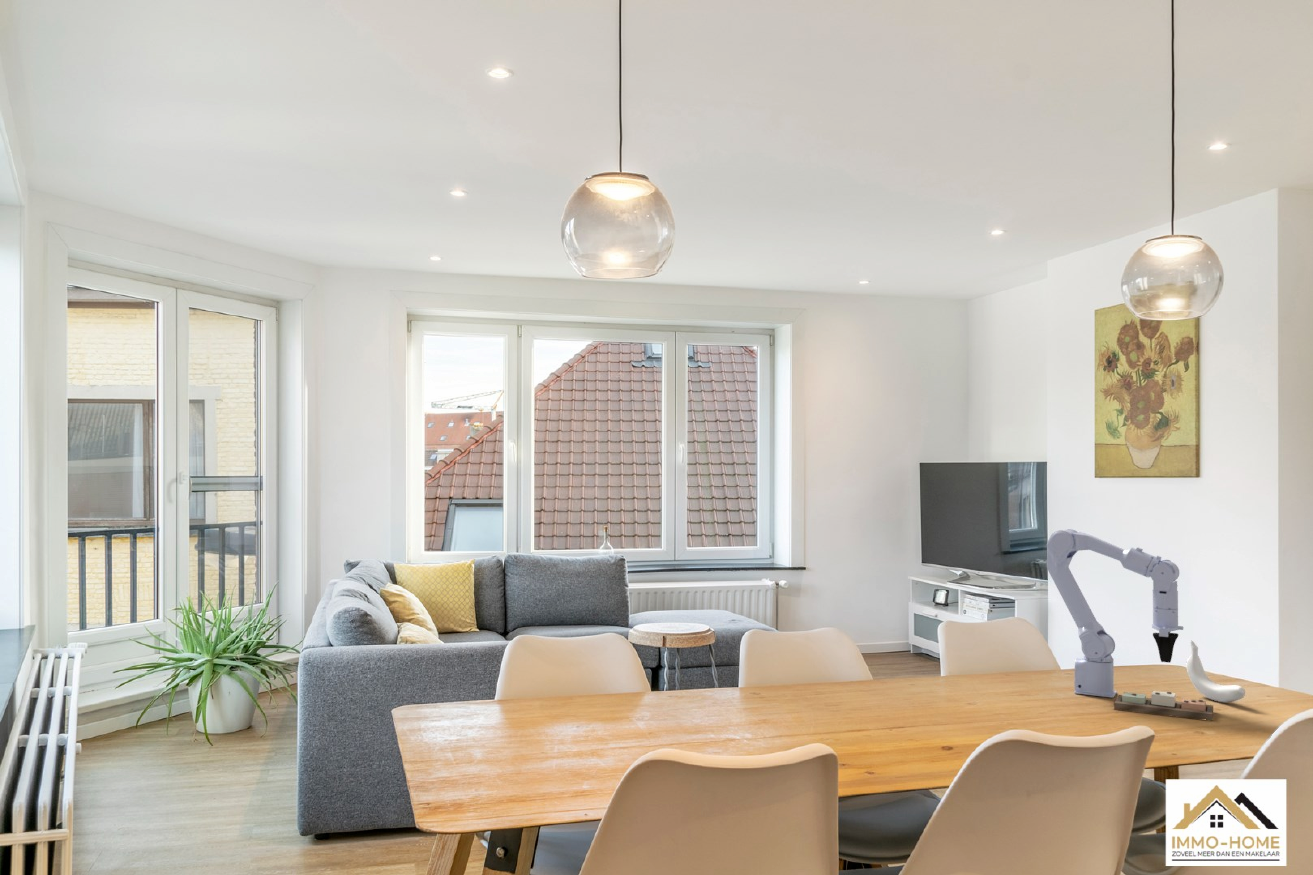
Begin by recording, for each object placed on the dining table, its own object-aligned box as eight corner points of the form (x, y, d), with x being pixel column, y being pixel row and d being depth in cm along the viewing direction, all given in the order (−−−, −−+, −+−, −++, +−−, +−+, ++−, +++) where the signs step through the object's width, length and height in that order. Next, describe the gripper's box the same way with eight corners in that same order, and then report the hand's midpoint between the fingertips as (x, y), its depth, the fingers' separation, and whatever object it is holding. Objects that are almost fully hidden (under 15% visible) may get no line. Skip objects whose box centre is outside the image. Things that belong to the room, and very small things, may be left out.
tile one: (1122, 705, 242) (1121, 694, 243) (1124, 701, 247) (1124, 690, 247) (1144, 707, 240) (1144, 696, 240) (1146, 704, 244) (1146, 693, 244)
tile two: (1151, 704, 239) (1151, 693, 239) (1152, 700, 243) (1152, 689, 244) (1174, 706, 237) (1174, 695, 237) (1175, 702, 241) (1175, 691, 241)
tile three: (1181, 712, 236) (1181, 701, 236) (1182, 708, 240) (1182, 697, 240) (1205, 715, 233) (1205, 703, 233) (1205, 711, 238) (1205, 699, 238)
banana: (1240, 710, 242) (1239, 650, 242) (1180, 694, 260) (1179, 638, 261) (1256, 709, 243) (1255, 650, 244) (1195, 693, 261) (1194, 638, 262)
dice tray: (1114, 709, 241) (1114, 702, 241) (1118, 700, 250) (1118, 694, 250) (1212, 720, 230) (1211, 714, 230) (1213, 711, 239) (1213, 705, 239)
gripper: (1181, 612, 241) (1182, 667, 241) (1184, 606, 254) (1185, 659, 253) (1149, 610, 245) (1150, 664, 244) (1154, 604, 257) (1154, 656, 257)
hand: (1165, 661), depth 249 cm, fingers closed
